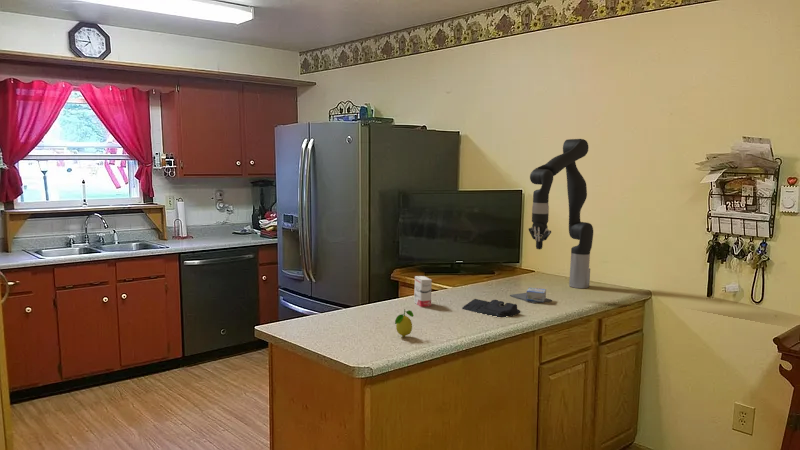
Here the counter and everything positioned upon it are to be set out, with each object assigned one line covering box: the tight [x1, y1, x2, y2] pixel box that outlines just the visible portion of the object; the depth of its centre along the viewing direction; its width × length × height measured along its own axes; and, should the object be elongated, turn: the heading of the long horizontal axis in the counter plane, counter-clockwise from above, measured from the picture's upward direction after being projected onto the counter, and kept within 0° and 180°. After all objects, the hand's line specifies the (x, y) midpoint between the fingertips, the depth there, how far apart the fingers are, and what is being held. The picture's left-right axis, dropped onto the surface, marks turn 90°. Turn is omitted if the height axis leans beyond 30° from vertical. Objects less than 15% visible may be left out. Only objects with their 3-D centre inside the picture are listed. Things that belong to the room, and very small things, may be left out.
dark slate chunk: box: [462, 298, 521, 318], centre depth 241 cm, size 15×22×5 cm
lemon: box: [394, 309, 414, 338], centre depth 201 cm, size 7×6×10 cm
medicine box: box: [525, 287, 547, 303], centre depth 261 cm, size 8×4×9 cm
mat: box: [509, 292, 553, 304], centre depth 265 cm, size 11×16×1 cm
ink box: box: [413, 275, 433, 308], centre depth 248 cm, size 8×5×12 cm, turn 20°
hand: (539, 249), depth 270 cm, fingers closed
